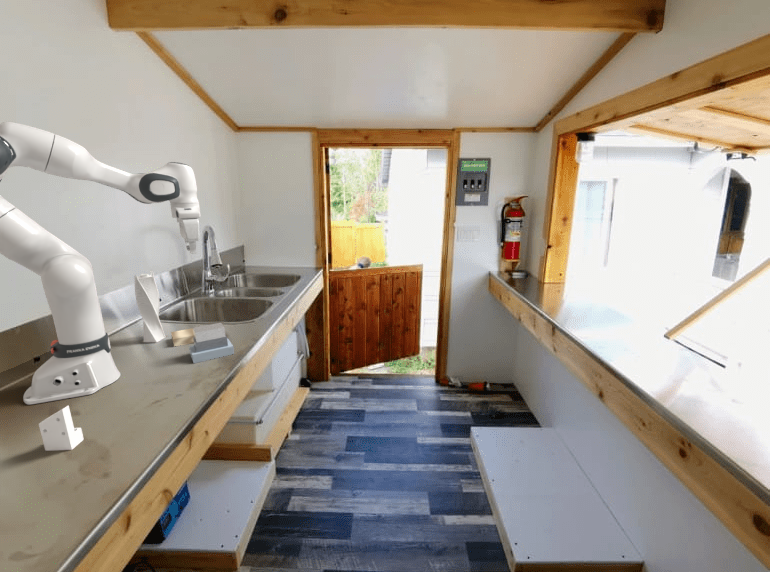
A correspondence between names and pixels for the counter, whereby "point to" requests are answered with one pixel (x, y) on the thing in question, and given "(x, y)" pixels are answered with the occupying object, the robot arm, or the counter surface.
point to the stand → (211, 353)
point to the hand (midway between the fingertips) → (191, 251)
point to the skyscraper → (149, 307)
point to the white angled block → (60, 431)
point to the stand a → (182, 337)
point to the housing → (209, 337)
